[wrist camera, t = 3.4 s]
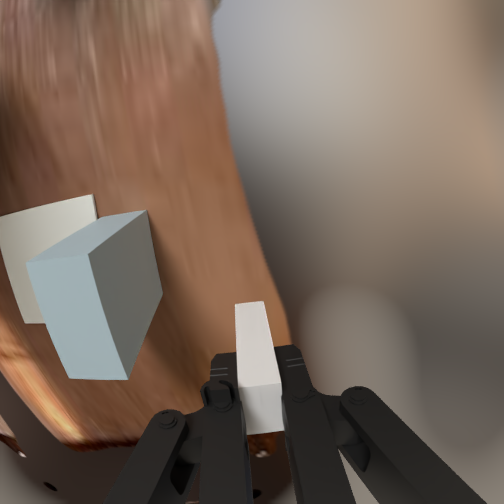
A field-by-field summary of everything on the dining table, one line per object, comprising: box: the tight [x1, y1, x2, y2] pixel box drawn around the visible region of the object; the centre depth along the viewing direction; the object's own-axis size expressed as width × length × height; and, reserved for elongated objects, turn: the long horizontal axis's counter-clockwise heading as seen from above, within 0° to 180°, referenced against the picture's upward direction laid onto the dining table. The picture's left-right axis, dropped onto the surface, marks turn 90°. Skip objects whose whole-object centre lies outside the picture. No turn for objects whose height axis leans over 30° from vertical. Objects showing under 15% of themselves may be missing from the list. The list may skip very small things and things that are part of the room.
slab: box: [26, 210, 163, 380], centre depth 24 cm, size 5×9×14 cm, turn 6°
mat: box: [0, 194, 98, 323], centre depth 30 cm, size 15×14×1 cm
